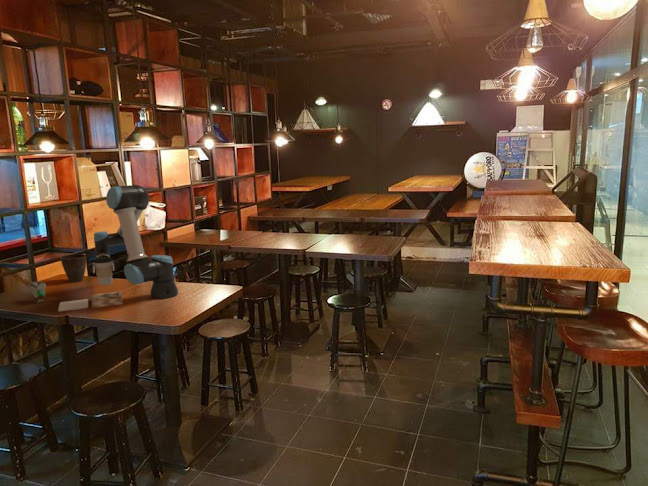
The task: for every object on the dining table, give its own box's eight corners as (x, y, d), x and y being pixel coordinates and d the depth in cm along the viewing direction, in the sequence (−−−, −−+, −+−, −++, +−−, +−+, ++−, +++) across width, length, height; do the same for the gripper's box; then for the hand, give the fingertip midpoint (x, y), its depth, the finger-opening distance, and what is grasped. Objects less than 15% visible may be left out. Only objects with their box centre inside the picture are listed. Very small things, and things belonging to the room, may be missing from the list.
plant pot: (60, 280, 318) (57, 256, 315) (84, 276, 328) (82, 252, 324) (67, 285, 307) (64, 260, 304) (92, 280, 317) (89, 256, 314)
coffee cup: (107, 286, 266) (104, 259, 263) (92, 285, 268) (89, 258, 265) (117, 281, 275) (115, 255, 272) (103, 281, 276) (100, 255, 274)
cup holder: (121, 296, 283) (120, 291, 282) (122, 303, 269) (122, 298, 269) (92, 300, 277) (92, 294, 276) (92, 307, 263) (91, 302, 263)
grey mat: (88, 300, 276) (88, 298, 276) (88, 307, 263) (87, 306, 263) (60, 304, 270) (59, 302, 270) (58, 311, 258) (58, 309, 258)
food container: (51, 301, 275) (49, 284, 273) (39, 304, 271) (36, 286, 269) (43, 296, 284) (41, 280, 282) (31, 299, 279) (29, 282, 277)
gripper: (124, 265, 291) (126, 273, 270) (83, 269, 282) (82, 278, 262) (122, 252, 289) (124, 260, 269) (81, 256, 280) (80, 264, 260)
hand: (103, 269), depth 265 cm, fingers closed on coffee cup, 9 cm apart
